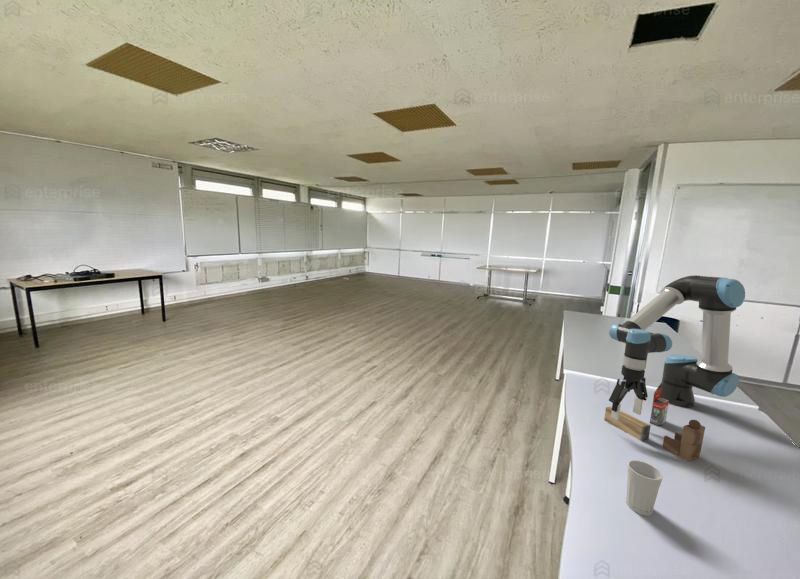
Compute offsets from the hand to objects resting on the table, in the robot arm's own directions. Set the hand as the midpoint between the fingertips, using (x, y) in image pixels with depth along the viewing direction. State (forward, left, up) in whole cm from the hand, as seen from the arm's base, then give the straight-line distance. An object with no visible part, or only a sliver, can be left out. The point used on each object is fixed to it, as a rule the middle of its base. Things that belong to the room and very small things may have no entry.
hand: (625, 415), depth 132 cm
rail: (0, 0, -6) cm, 6 cm away
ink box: (-20, +1, -6) cm, 21 cm away
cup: (+37, +29, -6) cm, 47 cm away
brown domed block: (-5, +18, -6) cm, 19 cm away
